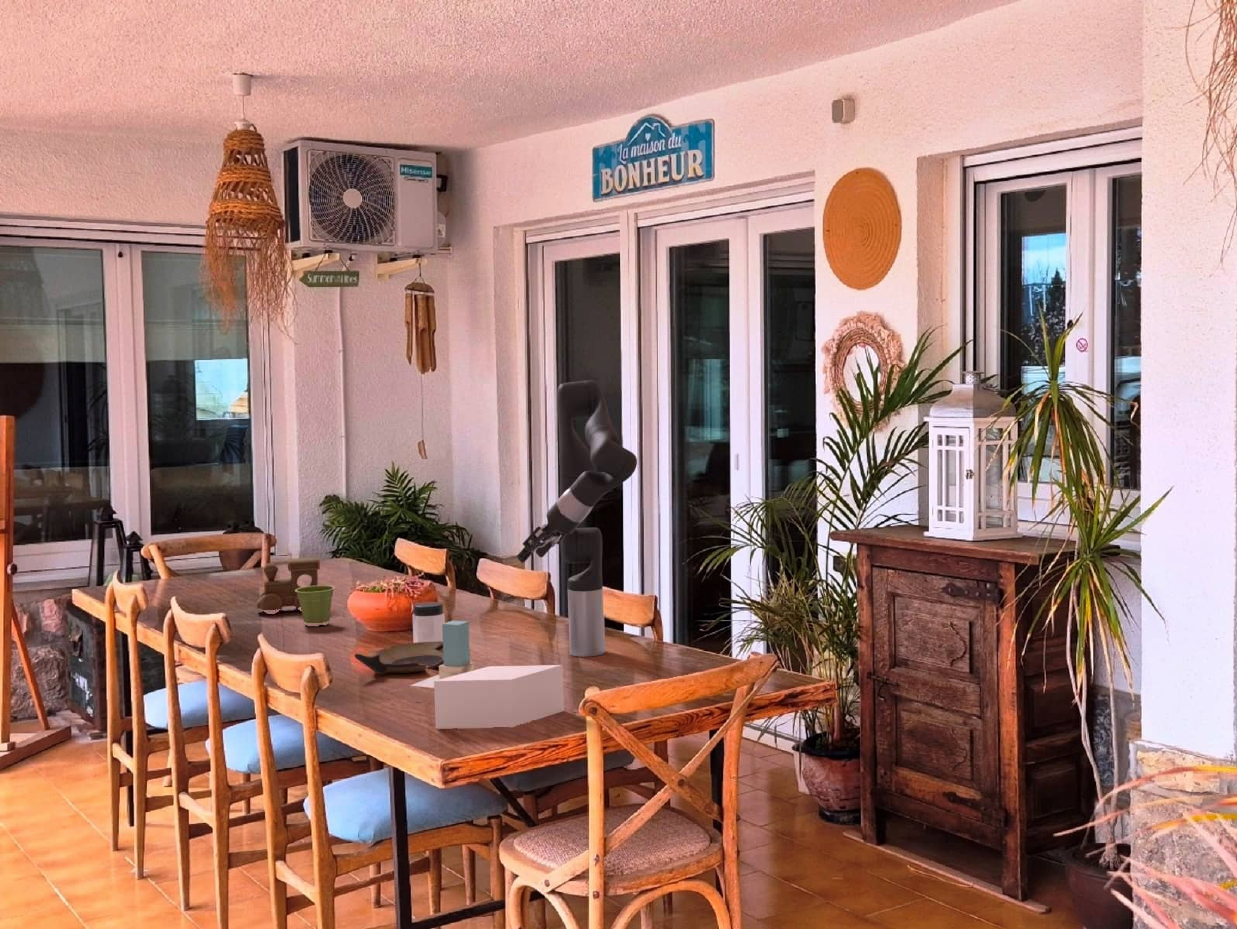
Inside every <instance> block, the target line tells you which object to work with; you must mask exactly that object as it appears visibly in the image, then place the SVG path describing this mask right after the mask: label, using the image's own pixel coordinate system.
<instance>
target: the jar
mask: <svg viewBox="0 0 1237 929" xmlns="http://www.w3.org/2000/svg"><path fill="white" fill-rule="evenodd" d="M412 608H413V614H412V635H413V636H412V637H413V640H412V641H413V643H417V642H439V641H442V642H443V632H442V624H444V623H446V616H445V615H446V614H445V613H444V603H443V602H439V601H424V602H418V603H414V604H413V607H412Z"/></svg>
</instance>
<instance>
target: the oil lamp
mask: <svg viewBox="0 0 1237 929" xmlns="http://www.w3.org/2000/svg"><path fill="white" fill-rule="evenodd" d="M441 649H442V650H441ZM354 657H355V658H354V659H356V660H358V661H359V662H360V663H362V664H363V665H365V666H366V667H368V668H369V669H370V670H371V671H373V673H375V674H379V675H383V674H385V673H391V674H394V673H395V674H396V673H397V674H409V673H419V672H425V671H426V669H427V670H433V669H436V668H439V666H440V665H443V664H444V658H443V642H442V641H439V642H417V643H414V642H409V643H403V644H395V645H391V646H390V647H384V648H382V649H380V650H378V651H375V652H370V653H368V654H367V655H364V654H361V653H355V654H354Z"/></svg>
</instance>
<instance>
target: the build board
mask: <svg viewBox="0 0 1237 929" xmlns="http://www.w3.org/2000/svg"><path fill="white" fill-rule="evenodd" d="M436 680H439V674H437V675H434V676H431V677H429V678H426V679H423V680H421V681H418V682H416V683H412V684H410V685H409V686H410V687H420V688H431V689H434V681H436Z"/></svg>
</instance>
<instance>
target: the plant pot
mask: <svg viewBox="0 0 1237 929" xmlns="http://www.w3.org/2000/svg"><path fill="white" fill-rule="evenodd" d="M307 586H308V585H307ZM307 586H301V587H302V588H298V589H296V590H295V592H297V595H298V599H299V601H300V606H301V610H302V612H301V615H302V619H303V623H304V622H306V623H323V622H327V621H329V622H330V619H331V608H332V601H333V600H332V598H333V594H334V590H336V587H335V586H334V585H318V586H308V587H307Z"/></svg>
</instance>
